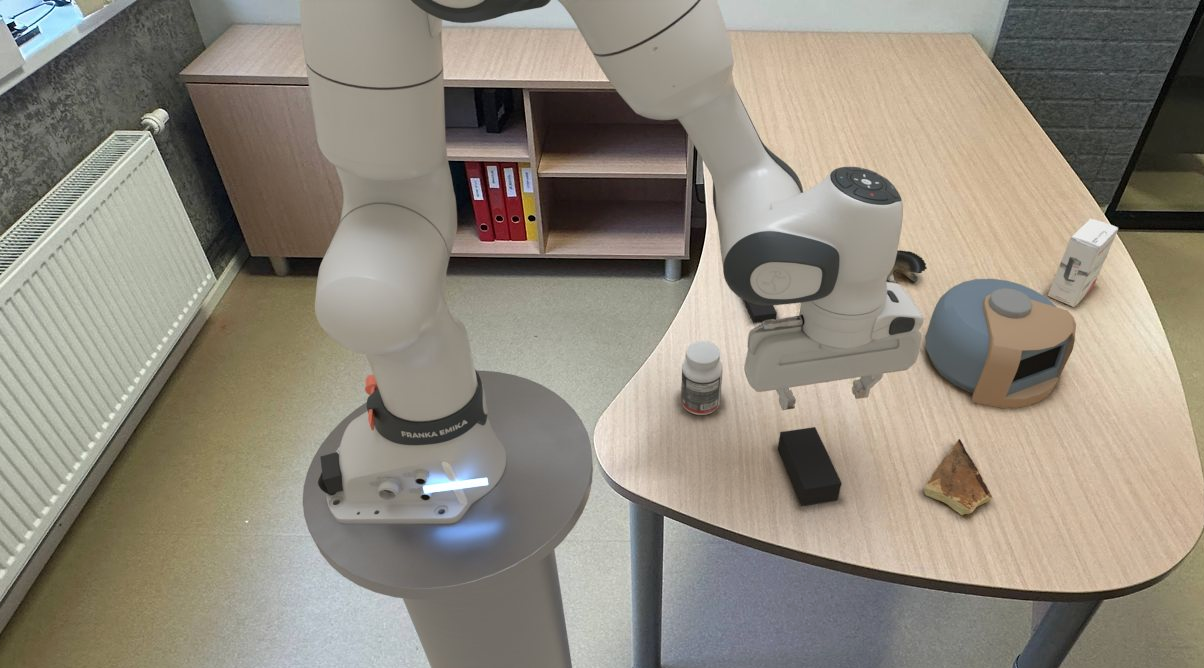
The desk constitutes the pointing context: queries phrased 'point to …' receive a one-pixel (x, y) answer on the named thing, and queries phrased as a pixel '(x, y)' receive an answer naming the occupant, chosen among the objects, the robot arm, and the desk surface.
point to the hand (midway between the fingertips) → (823, 400)
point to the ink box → (1082, 261)
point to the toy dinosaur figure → (907, 265)
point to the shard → (958, 482)
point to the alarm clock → (1000, 342)
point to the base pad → (760, 312)
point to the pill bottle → (701, 378)
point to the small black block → (809, 466)
